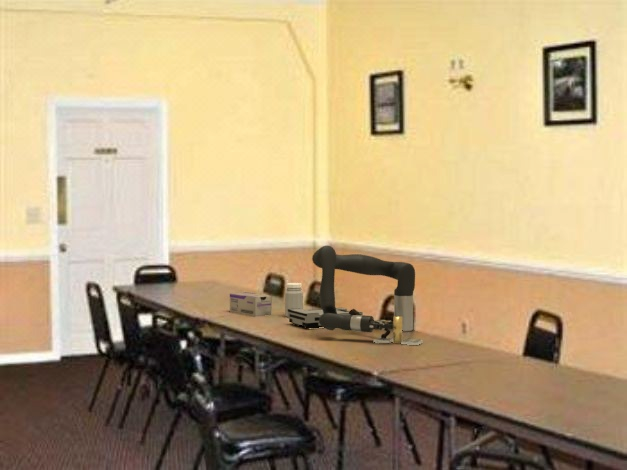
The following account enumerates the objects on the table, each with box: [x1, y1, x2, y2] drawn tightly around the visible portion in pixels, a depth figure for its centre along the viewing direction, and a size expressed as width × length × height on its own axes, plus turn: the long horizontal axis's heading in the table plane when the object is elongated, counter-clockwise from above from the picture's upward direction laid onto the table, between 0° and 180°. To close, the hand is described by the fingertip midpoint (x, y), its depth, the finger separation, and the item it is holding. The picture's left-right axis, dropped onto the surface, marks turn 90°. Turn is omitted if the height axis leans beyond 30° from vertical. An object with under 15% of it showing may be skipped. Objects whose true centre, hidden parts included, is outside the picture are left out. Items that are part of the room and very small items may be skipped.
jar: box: [284, 282, 304, 318], centre depth 524 cm, size 10×10×18 cm
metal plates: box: [373, 336, 424, 346], centre depth 438 cm, size 8×20×2 cm, turn 67°
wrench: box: [348, 308, 391, 338], centre depth 456 cm, size 5×5×30 cm
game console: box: [287, 307, 363, 329], centre depth 494 cm, size 21×32×8 cm, turn 118°
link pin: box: [392, 315, 403, 344], centre depth 438 cm, size 4×4×12 cm
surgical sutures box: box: [229, 291, 273, 318], centre depth 538 cm, size 25×11×11 cm, turn 38°
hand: (396, 325), depth 438 cm, fingers open, 8 cm apart
